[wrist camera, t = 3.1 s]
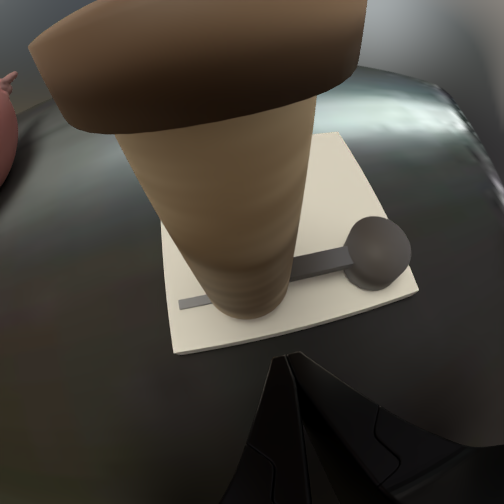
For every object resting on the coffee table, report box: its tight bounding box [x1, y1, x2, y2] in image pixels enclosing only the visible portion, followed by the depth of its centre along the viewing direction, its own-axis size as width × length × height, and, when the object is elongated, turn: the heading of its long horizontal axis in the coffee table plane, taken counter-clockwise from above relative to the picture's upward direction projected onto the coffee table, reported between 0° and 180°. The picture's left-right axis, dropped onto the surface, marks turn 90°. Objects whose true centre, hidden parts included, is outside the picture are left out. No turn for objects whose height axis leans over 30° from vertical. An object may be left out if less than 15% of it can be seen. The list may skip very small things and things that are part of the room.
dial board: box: [161, 132, 419, 355], centre depth 17 cm, size 14×14×1 cm
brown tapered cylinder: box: [28, 0, 411, 320], centre depth 9 cm, size 11×5×14 cm, turn 101°
